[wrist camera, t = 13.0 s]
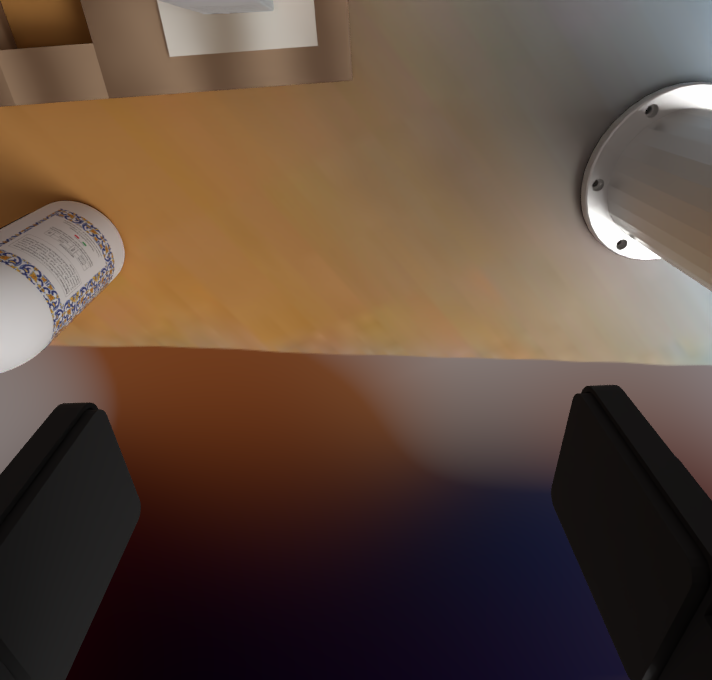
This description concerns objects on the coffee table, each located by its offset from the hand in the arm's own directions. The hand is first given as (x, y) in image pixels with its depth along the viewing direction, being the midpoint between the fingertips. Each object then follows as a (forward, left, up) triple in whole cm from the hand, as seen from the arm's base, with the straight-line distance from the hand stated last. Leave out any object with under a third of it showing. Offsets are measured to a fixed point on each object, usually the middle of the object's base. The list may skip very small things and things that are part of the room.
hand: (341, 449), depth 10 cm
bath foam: (+21, +5, -30) cm, 37 cm away
